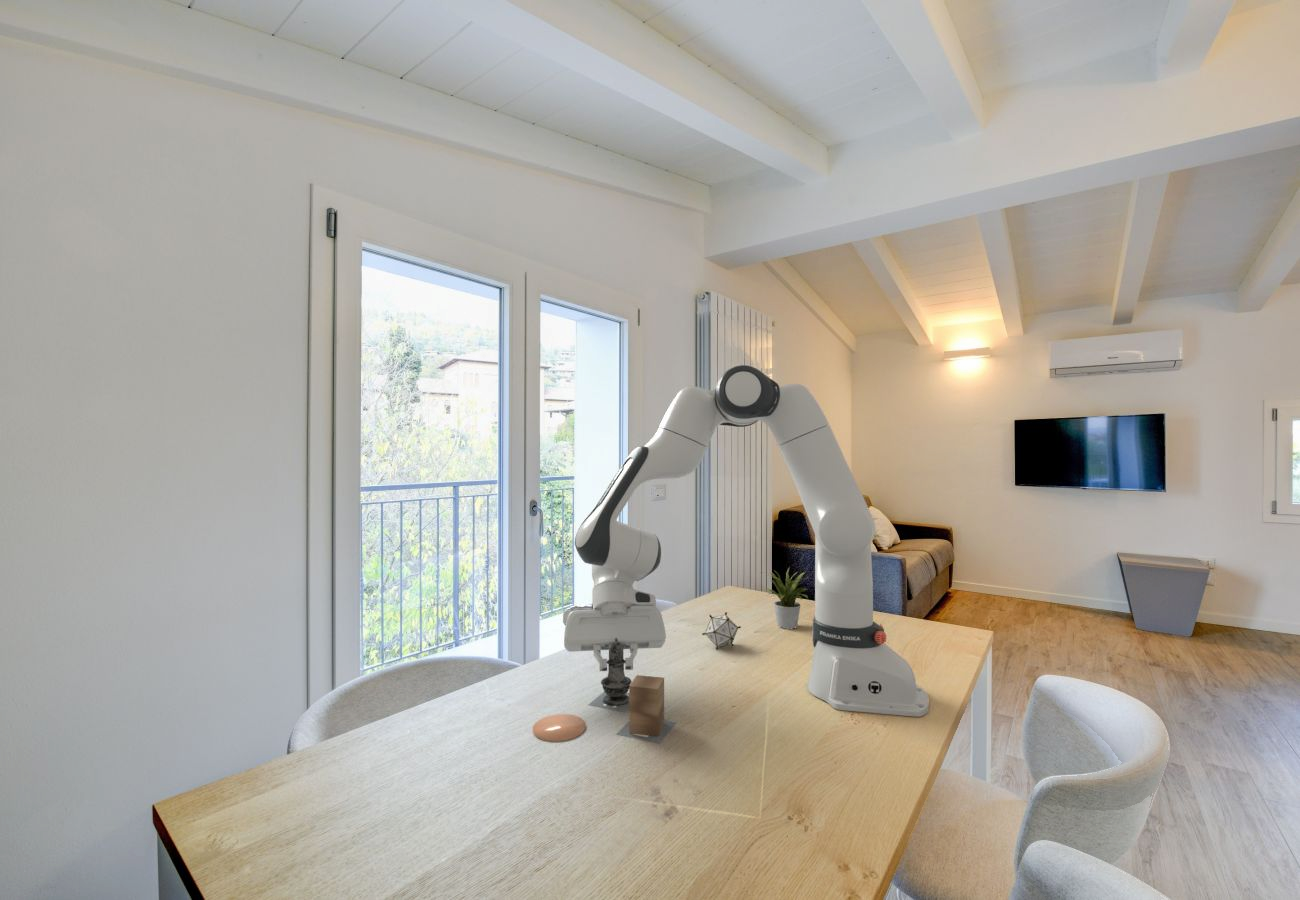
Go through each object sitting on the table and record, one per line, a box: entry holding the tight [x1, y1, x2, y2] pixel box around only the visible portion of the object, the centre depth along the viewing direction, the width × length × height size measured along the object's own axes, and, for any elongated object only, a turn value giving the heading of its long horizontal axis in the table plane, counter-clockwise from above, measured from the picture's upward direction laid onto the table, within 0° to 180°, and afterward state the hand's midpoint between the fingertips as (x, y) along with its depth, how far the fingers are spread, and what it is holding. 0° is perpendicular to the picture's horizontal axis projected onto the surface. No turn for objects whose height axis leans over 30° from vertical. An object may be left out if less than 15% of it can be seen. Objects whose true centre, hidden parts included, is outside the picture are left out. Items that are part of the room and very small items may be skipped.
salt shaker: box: [600, 638, 632, 706], centre depth 111 cm, size 6×6×12 cm
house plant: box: [760, 566, 810, 628], centre depth 158 cm, size 14×14×16 cm
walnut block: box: [628, 674, 665, 737], centre depth 100 cm, size 5×5×8 cm
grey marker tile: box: [587, 691, 629, 713], centre depth 111 cm, size 8×8×1 cm
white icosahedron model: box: [701, 611, 742, 650], centre depth 142 cm, size 9×8×10 cm
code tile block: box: [616, 719, 678, 745], centre depth 100 cm, size 8×8×1 cm
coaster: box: [532, 713, 586, 742], centre depth 100 cm, size 9×9×1 cm
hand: (616, 669), depth 110 cm, fingers closed on salt shaker, 4 cm apart
